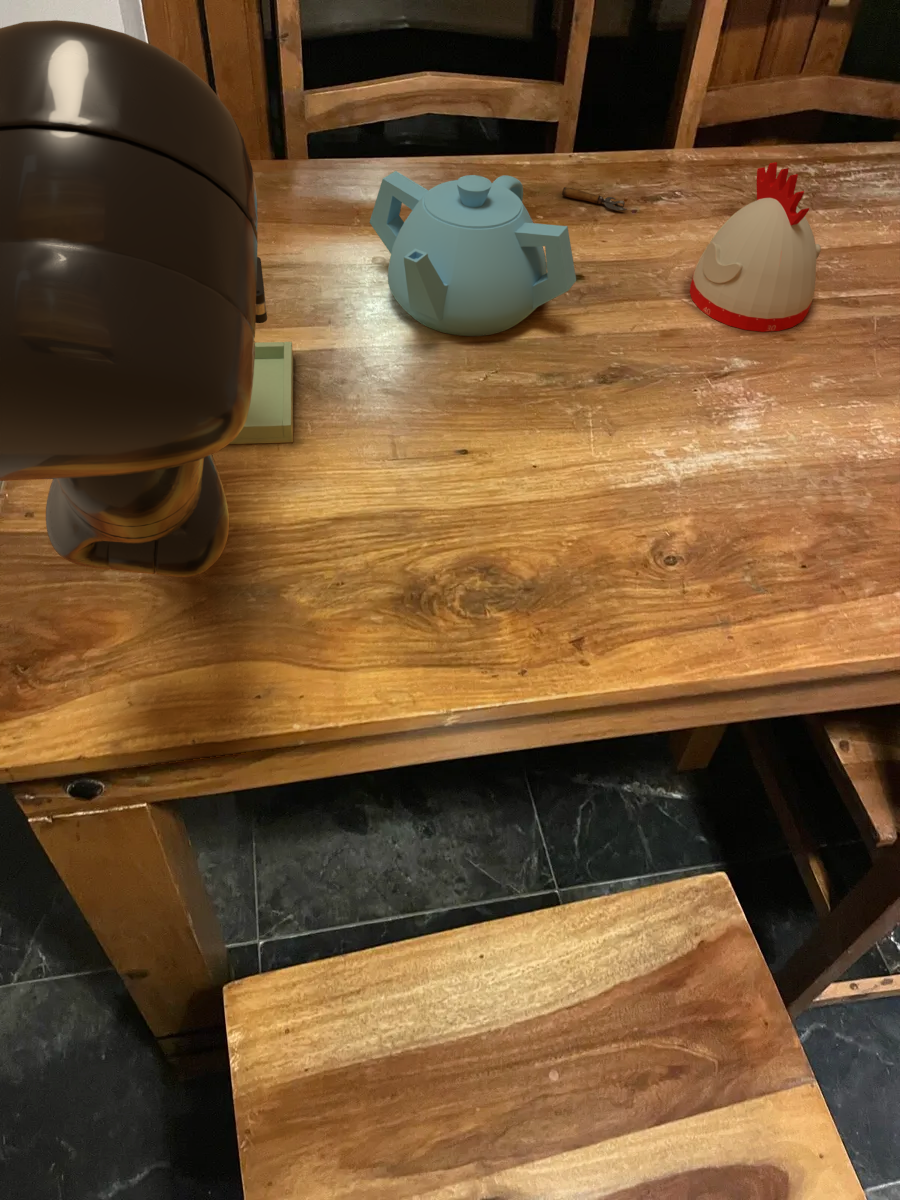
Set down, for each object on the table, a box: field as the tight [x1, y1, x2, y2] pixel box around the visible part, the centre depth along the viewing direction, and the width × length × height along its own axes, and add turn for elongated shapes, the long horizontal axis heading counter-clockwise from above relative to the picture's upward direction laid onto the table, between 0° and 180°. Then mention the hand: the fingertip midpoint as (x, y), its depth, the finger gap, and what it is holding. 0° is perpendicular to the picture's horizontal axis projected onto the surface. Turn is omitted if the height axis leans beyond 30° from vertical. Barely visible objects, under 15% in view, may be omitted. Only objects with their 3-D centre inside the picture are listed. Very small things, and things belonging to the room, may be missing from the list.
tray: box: [228, 341, 294, 445], centre depth 92 cm, size 16×14×2 cm
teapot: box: [369, 170, 577, 337], centre depth 102 cm, size 19×19×14 cm
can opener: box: [561, 187, 628, 211], centre depth 123 cm, size 9×2×1 cm, turn 63°
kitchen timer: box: [688, 161, 822, 333], centre depth 105 cm, size 14×14×15 cm
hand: (187, 242), depth 78 cm, fingers closed on beverage can, 6 cm apart
